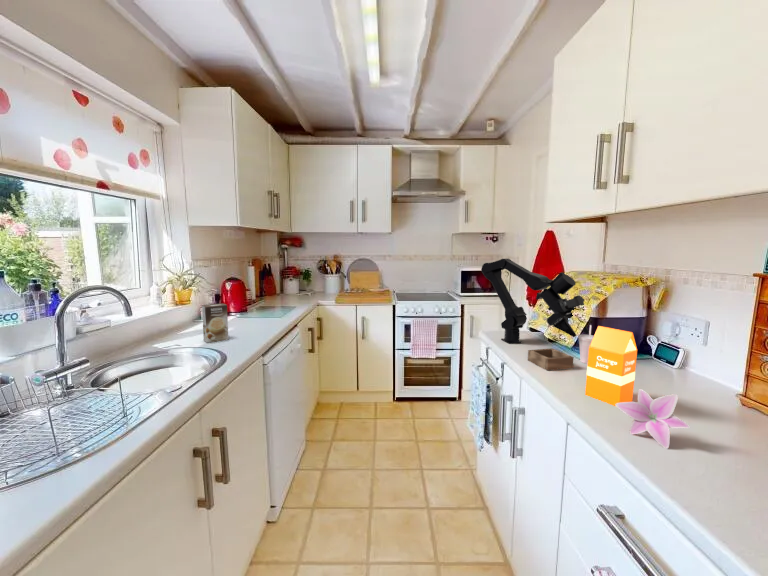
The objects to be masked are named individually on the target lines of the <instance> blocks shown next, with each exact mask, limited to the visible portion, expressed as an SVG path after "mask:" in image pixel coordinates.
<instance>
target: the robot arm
mask: <svg viewBox="0 0 768 576" xmlns="http://www.w3.org/2000/svg"><path fill="white" fill-rule="evenodd" d="M480 269H481V273H482V274H483V276H484V277H485V278H486V279H487V280H488V281H489V282H491V284H492V286H493V288H494V290H495V292H496V294H497V297H498V298H499V300H500V302H501V304H502V306H503V308H504V317H505V320H503V321H502V322H501V324H500V326H501V328H502V329H504V336H503V337H504V338H501V341H503V342H505V343H507V344H519V343H520V344H521V342H522V341H521V340H520V335H521V334H520V329H522V328H524V325H525V324H526V323H527V320H528V318H527V315H528V314H527V313H526V312H525V310H524V308H523V306H517V304H516V302H515V301H514V299H513V297H512V296H511V293H510V292H509V290H508V288H507V286H506V284H505V282H504V280H503V278H502V274H503V272H502V271H503V270H506V271H508V272H509V273H511V274H513V275H514V276H516V277H518V278H519V279H521V280H522V281H524V283H525V284H526V286H528V287H529V288H530V289H531V290H532V291H541V292H537V293H536V297H535V299H536V300H543V301H544V302H545V304H546V305H547V306H548V307H547V309H548V311H552V312H553V313H552V314H551V315H550V316H548V317H547V318H546V323H547V325H548V326H550V327H551V326H552V327H553V328H555V329H558V330H559V331H561V332H564V333H566V334H567V335H569V336H571V337H573V338H575V337H576V336H577V334H576V332H575V330H574V329H573V327H572V326H571V323H569V320H568V318H571V317H572V316H573V315H572V313H571V311H572V310H574V309H575V308H578V307H580V306H585V303H584V302H585V298H583V296H581V295H575V296H573V298H571V299H566V298H562V297H561V295H565V294H566V293H567V292H569V290H571V289H572V288H573V287H574V286H576V284H577V283H576V281H575V280H574V278H573V277H571V276H569V275H567V274H566V273H565V272H560V273H558V275H557V276H556V277H554V279H550V278H548V276H546V275H543V274H540V273H536V272H533V271H531V270H528V269H527V268H525V267H523V266H522V265H520V264H519V263H516V262H514V261H513V260H511V259H510V258H500V259H499V260H496V261H491V262H485V263H483V264H482V266H481V268H480ZM587 326H588V325H586V327H585V328H584V330H583V331H582V332H583V333H585V335H588V334H589V328H588V327H587Z"/></svg>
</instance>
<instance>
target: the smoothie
mask: <svg viewBox="0 0 768 576" xmlns="http://www.w3.org/2000/svg"><path fill="white" fill-rule="evenodd" d="M588 331H589V333H588V334H579V335H577V336H578V337H577V339H578V343H579V358H580V359H579V360H580V363H583V364H587V365H588V355H589V346H590V344H591V342H592V339H593V337H594V335H592V324H589V328H588Z"/></svg>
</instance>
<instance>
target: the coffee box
mask: <svg viewBox="0 0 768 576" xmlns="http://www.w3.org/2000/svg"><path fill="white" fill-rule="evenodd" d="M201 306H202V307H201V311H202V329H203V331H202V333H203V341H204V342H205V343H208V344H209V343H214V342H220V341H221V342H223V341H227V340H228V341H229V322H228V320H229V319H228V318H229V317H228V305H227V304H226V303H212V304H211V303H210V304H202V305H201Z"/></svg>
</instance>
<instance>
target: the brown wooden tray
mask: <svg viewBox="0 0 768 576" xmlns="http://www.w3.org/2000/svg"><path fill="white" fill-rule="evenodd" d="M527 361H528V362H530V363H532V364H533V365H536V366H538V367H539V368H542V369H543V370H545V371H554V370H555V371H557V370H566V369H567V370H568V369H574V368H573V367H574V356H572V355H569V354H567V353H565V352H562V351H559V350H557V349H555V348H553V347H552V348H541V349H529V350H527Z"/></svg>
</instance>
